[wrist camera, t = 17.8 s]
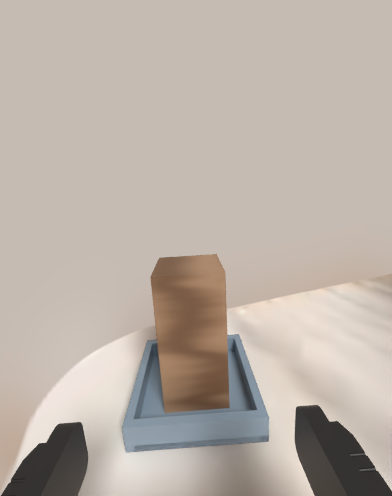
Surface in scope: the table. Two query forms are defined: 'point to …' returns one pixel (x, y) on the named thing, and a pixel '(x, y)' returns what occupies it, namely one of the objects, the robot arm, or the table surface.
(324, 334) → the table surface
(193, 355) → the walnut block
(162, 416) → the tray
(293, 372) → the table surface
